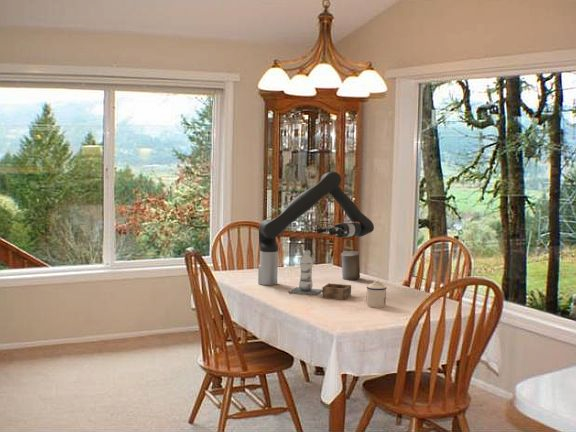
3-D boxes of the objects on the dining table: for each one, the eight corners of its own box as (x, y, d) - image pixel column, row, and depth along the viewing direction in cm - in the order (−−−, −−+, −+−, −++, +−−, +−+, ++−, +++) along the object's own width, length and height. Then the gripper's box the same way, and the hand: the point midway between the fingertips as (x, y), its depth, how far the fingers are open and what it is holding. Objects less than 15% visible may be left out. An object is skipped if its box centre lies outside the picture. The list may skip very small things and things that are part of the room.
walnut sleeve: (322, 297, 340) (322, 287, 339) (328, 293, 350) (328, 283, 349) (345, 299, 336) (345, 289, 336) (350, 295, 346) (351, 285, 345)
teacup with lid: (388, 307, 322) (389, 282, 320) (369, 308, 320) (370, 282, 319) (380, 301, 333) (381, 277, 332) (361, 302, 332) (362, 277, 330)
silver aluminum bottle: (303, 288, 357) (304, 249, 355) (315, 290, 353) (315, 250, 351) (296, 290, 352) (297, 250, 350) (307, 292, 348) (308, 252, 346)
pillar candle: (363, 276, 389) (362, 249, 386) (354, 281, 382) (352, 254, 379) (348, 274, 395) (347, 247, 392) (338, 278, 388) (337, 252, 384)
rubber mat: (288, 292, 349) (288, 291, 349) (296, 288, 360) (296, 287, 360) (315, 295, 344) (315, 294, 344) (322, 290, 356) (322, 289, 355)
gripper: (334, 221, 374) (313, 223, 363) (355, 224, 364) (334, 226, 353) (333, 235, 375) (312, 237, 363) (354, 238, 365) (334, 241, 353)
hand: (323, 231), depth 358 cm, fingers open, 8 cm apart
